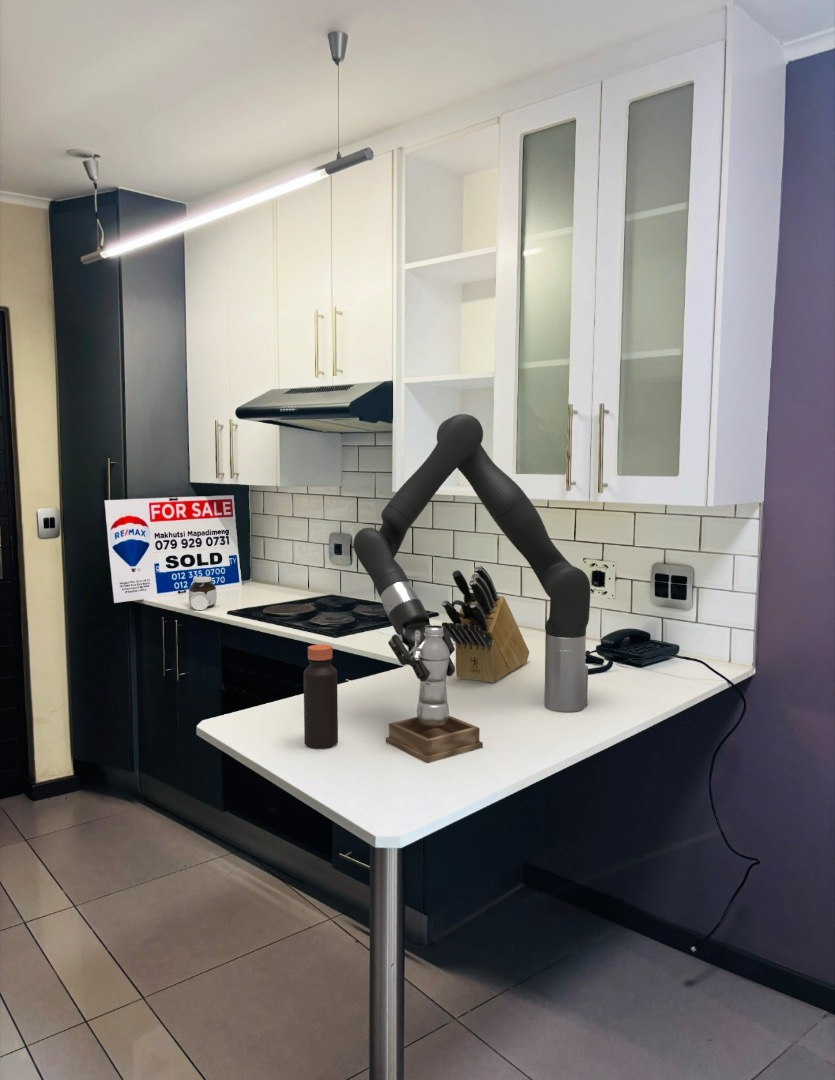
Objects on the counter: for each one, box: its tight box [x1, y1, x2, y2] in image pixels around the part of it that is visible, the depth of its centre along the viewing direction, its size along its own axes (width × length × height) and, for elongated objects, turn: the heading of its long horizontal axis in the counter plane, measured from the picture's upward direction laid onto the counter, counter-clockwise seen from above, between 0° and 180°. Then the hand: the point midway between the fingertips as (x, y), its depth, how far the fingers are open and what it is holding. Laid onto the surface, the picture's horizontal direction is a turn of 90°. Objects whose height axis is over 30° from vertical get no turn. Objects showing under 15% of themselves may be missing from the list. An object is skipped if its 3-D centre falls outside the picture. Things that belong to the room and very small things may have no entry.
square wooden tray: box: [385, 715, 484, 764], centre depth 162 cm, size 14×14×4 cm
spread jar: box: [188, 576, 218, 611], centre depth 311 cm, size 12×11×12 cm
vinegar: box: [303, 644, 339, 750], centre depth 162 cm, size 7×7×20 cm
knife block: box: [441, 564, 530, 684], centre depth 214 cm, size 11×35×31 cm, turn 151°
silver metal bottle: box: [416, 624, 450, 726], centre depth 161 cm, size 6×7×20 cm
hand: (438, 676), depth 160 cm, fingers closed on silver metal bottle, 6 cm apart
